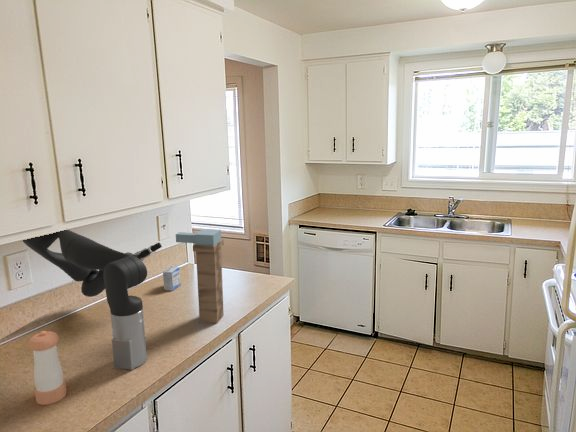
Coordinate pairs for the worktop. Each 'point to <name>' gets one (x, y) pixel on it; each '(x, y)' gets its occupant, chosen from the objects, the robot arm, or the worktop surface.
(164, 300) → the worktop surface
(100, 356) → the worktop surface
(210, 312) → the walnut stand
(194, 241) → the blue-grey stepped block
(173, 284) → the medicine box
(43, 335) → the salt shaker
